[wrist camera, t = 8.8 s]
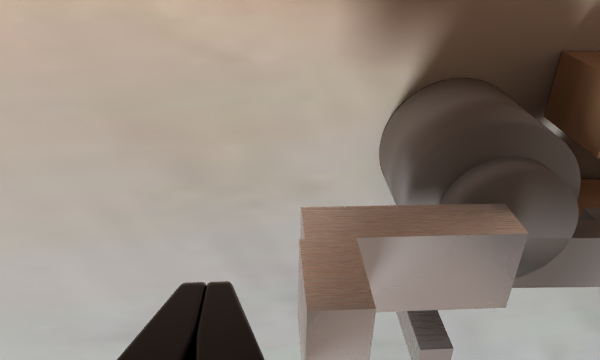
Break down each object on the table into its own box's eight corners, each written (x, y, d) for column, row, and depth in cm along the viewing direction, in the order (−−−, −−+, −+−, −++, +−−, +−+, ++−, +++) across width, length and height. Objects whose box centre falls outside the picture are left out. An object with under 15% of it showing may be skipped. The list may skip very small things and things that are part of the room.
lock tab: (463, 150, 12) (582, 301, 7) (431, 303, 14) (507, 484, 10) (290, 152, 11) (307, 311, 7) (288, 308, 14) (301, 496, 9)
